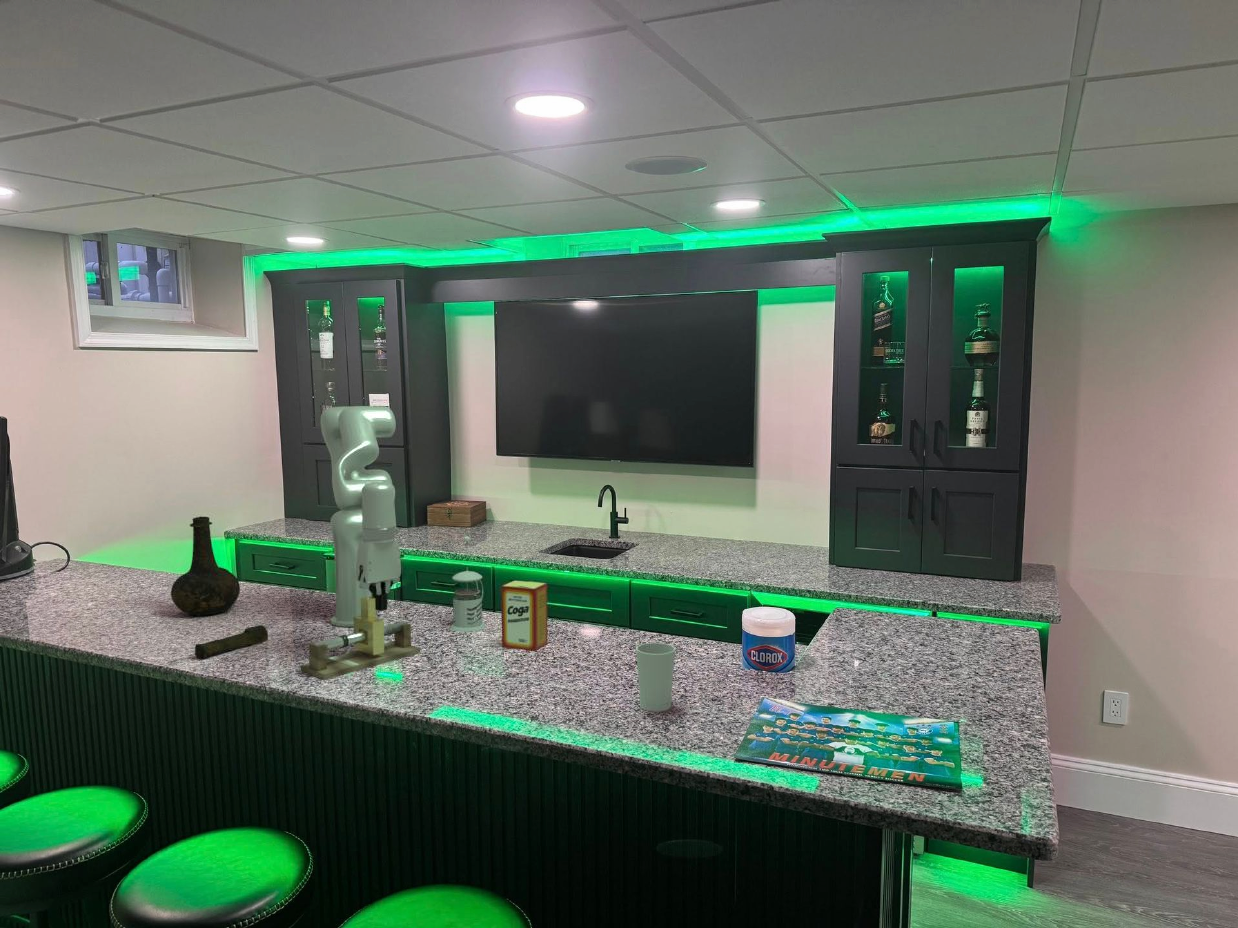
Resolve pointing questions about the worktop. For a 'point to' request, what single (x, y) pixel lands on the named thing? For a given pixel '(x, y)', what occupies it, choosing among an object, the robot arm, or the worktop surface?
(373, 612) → the collar
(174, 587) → the glass bottle
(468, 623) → the french press
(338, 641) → the pipe
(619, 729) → the worktop surface
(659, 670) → the cup
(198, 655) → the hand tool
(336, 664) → the pipe stand
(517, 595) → the baking soda box
